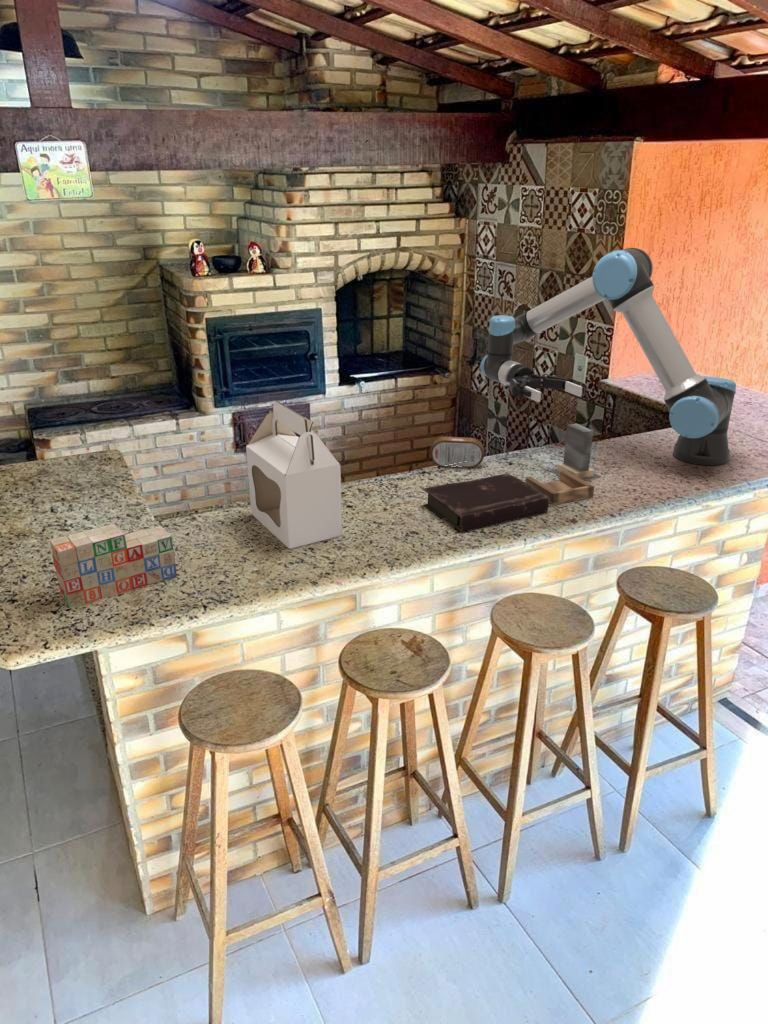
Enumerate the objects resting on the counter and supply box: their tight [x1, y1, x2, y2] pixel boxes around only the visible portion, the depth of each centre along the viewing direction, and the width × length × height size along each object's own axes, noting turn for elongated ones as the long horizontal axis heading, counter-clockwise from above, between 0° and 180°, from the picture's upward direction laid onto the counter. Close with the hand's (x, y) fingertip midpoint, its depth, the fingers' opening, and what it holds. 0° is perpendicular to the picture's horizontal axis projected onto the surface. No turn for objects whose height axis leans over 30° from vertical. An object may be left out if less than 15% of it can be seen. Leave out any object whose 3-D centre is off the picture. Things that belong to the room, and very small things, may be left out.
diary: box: [422, 473, 550, 533], centre depth 185 cm, size 19×25×5 cm
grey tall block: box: [556, 423, 595, 479], centre depth 203 cm, size 6×8×13 cm
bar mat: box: [548, 468, 602, 482], centre depth 206 cm, size 10×10×1 cm
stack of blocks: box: [49, 523, 178, 609], centre depth 149 cm, size 21×6×12 cm, turn 125°
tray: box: [525, 471, 595, 506], centre depth 193 cm, size 12×12×3 cm
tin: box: [429, 436, 486, 469], centre depth 210 cm, size 15×3×8 cm, turn 84°
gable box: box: [245, 400, 343, 550], centre depth 171 cm, size 22×13×28 cm, turn 31°
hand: (560, 394), depth 206 cm, fingers open, 13 cm apart
